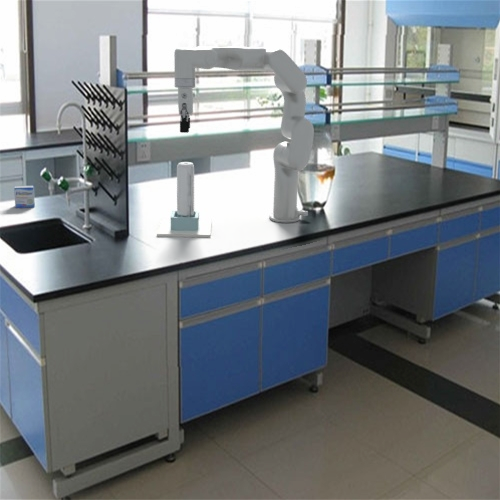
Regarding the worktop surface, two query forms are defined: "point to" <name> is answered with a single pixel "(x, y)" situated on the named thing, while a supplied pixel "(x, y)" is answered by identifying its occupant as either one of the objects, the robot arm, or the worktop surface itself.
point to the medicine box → (24, 196)
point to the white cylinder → (185, 189)
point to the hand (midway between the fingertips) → (185, 130)
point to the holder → (184, 226)
